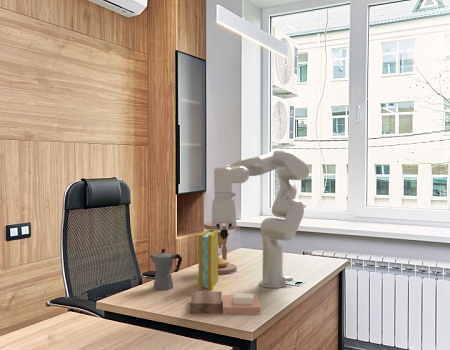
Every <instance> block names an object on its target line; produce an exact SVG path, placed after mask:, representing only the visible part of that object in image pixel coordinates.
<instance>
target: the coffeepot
mask: <svg viewBox="0 0 450 350" xmlns="http://www.w3.org/2000/svg"><path fill="white" fill-rule="evenodd" d="M165 251H166V249H165V248H162V249H161V252H160V253H155V254H150V255H148V258H150V259H151V261H152V262H153V264H154V270H155V276H154V281H153V289H154V290H158V291H168V290H171V289H173V288H174V284H173V277H172V273H171V270H172V267H173V262H174V261H173V260H174V259H178V260H177V264H176V269H173V272H174V273H178V272H179V269H180V266H181V264H182V261H183V257H182V256H181V255H180V254H178V253H177V254H176V253H175V254H172V253H167V252H165Z"/></svg>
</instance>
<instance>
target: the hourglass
mask: <svg viewBox="0 0 450 350" xmlns="http://www.w3.org/2000/svg"><path fill="white" fill-rule="evenodd" d="M211 223H212V221H208V222H205V223H203V228H204V229H205V230H209V229H215V230H218V249H221V256H222V257H220V254H219V253H218V275H228V274H232V273H233V274H234V273H235V272H236V271H237V268H238V267H237V265H236V264H234V263H229V260H228V258H227V255H228V248H227V242H228V237H226V239H224V240H223V239H222V237H221V230H220V229H219V228H218V227H217V226H212V225H211ZM218 224H219V223H218ZM225 226H226V223H222V227H223V229H225ZM237 228H238V224H236V225H233V226H231V227H230V228H229V229H228V231H229V230H230V231H231V230H235V229H237ZM229 235H230V233H229V232H228V236H229Z"/></svg>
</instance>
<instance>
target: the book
mask: <svg viewBox="0 0 450 350" xmlns="http://www.w3.org/2000/svg"><path fill="white" fill-rule="evenodd" d="M218 232H219V230H215V229H209V230H208V229H205V230H204V231H202V232H201V233H199V234H197V246H198V278H197V290H203V289H204V288H207V291H212V290H214V287H215V286H216V285H217V283H218V282H219V274H218V259H219V258H218V254H219V246H218Z"/></svg>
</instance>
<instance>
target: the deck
mask: <svg viewBox="0 0 450 350" xmlns="http://www.w3.org/2000/svg"><path fill="white" fill-rule="evenodd" d="M222 293H223V292H222V291H218V290H217V291H214V290H213V291H212V290H207V291H205V290H204V291H199V290H197V291H192V294H191V300H190V305H189V307H190V310H189V312H190V315H192V314H193V315H195V314H196V315H197V314H198V315H200V314H201V315H203V314H204V315H205V314H206V315H211V314H213V315H216V314H217V315H221V314H223V294H222Z"/></svg>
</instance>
